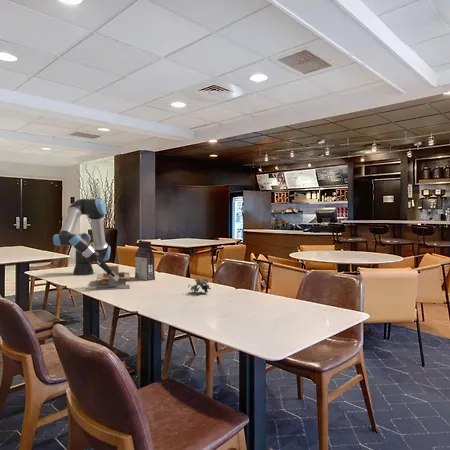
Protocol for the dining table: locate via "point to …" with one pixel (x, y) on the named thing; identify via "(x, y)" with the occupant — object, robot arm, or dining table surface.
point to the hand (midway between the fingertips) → (117, 278)
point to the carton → (105, 278)
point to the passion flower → (202, 285)
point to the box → (111, 280)
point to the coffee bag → (144, 262)
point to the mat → (113, 287)
